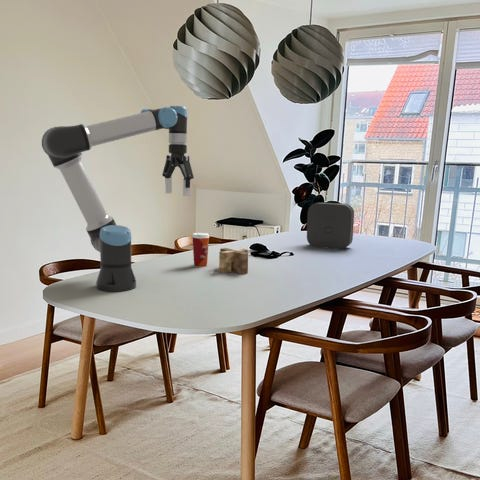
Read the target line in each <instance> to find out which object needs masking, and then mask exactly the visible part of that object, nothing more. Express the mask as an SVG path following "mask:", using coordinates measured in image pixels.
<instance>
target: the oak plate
mask: <svg viewBox="0 0 480 480" xmlns="http://www.w3.org/2000/svg"><path fill="white" fill-rule="evenodd" d="M239 251H241V252H245V253H248V252H249V250H248V249H247V248H240V249H239V248H237V249H232V250H230V251H223V252H220V251H219V256H218V257H219V259H218V261H219V264H218V265H219V267H218V268H219V269H218V270H219V273H222V274H226V273H232V271H231V262H234V261H235V252H239ZM248 254H249V253H248Z"/></svg>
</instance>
